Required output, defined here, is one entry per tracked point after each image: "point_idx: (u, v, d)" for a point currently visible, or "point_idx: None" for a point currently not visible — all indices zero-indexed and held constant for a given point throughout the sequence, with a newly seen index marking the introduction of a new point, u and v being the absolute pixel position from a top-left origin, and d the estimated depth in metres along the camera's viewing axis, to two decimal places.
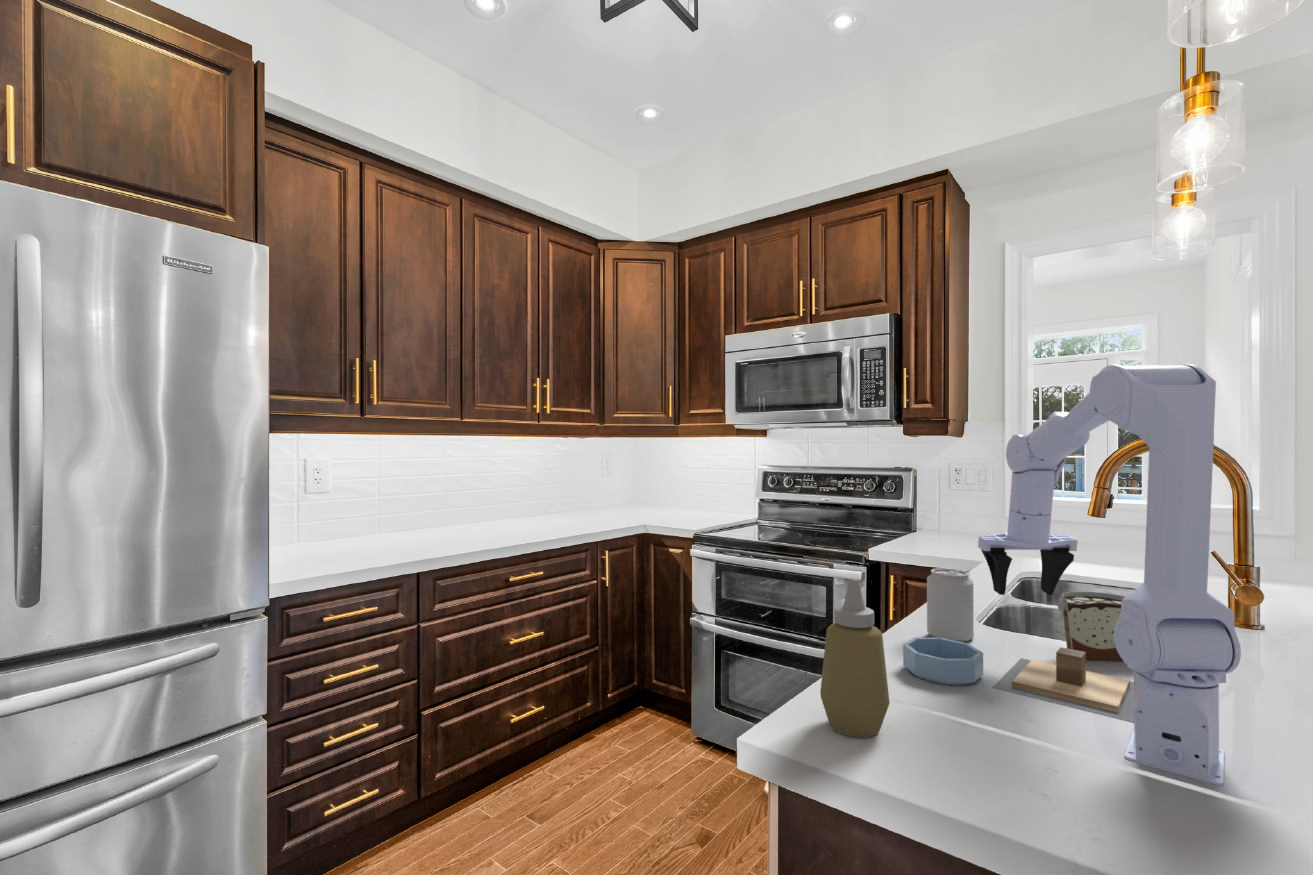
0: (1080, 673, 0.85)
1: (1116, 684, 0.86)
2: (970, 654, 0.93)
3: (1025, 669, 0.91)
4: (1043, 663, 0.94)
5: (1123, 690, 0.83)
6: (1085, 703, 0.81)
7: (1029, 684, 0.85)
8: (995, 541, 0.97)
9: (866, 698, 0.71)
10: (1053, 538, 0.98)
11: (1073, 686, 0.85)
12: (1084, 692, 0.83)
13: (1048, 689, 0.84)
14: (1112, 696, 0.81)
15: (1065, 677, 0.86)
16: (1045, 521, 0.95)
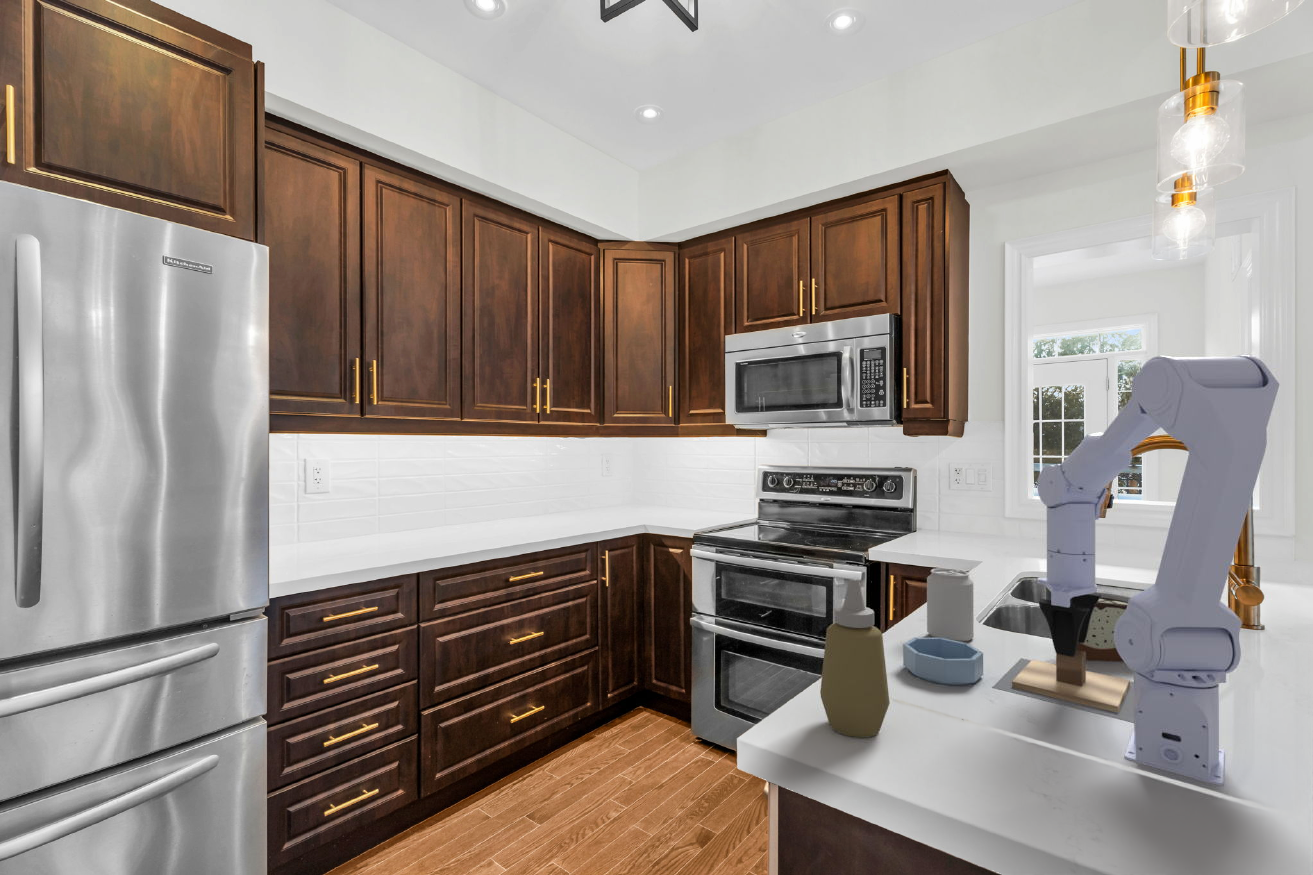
0: (1080, 673, 0.85)
1: (1116, 684, 0.86)
2: (970, 654, 0.93)
3: (1025, 669, 0.91)
4: (1043, 663, 0.94)
5: (1123, 690, 0.83)
6: (1085, 703, 0.81)
7: (1029, 684, 0.85)
8: (1073, 593, 0.82)
9: (866, 698, 0.71)
10: None
11: (1073, 686, 0.85)
12: (1084, 692, 0.83)
13: (1048, 689, 0.84)
14: (1112, 696, 0.81)
15: (1065, 677, 0.86)
16: None
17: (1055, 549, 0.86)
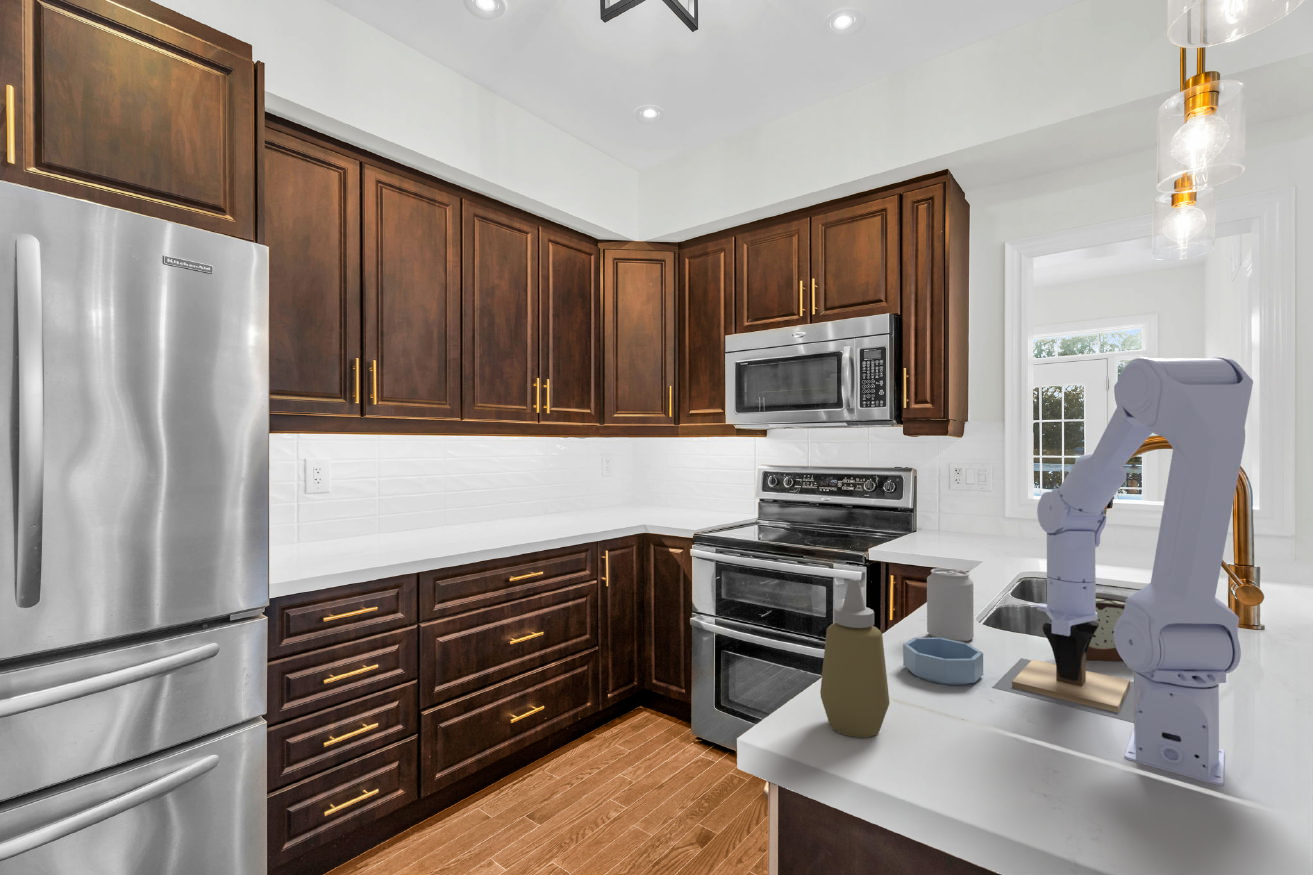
0: (1080, 673, 0.85)
1: (1116, 684, 0.86)
2: (970, 654, 0.93)
3: (1025, 669, 0.91)
4: (1043, 663, 0.94)
5: (1123, 690, 0.83)
6: (1085, 703, 0.81)
7: (1029, 684, 0.85)
8: (1073, 621, 0.82)
9: (866, 698, 0.71)
10: None
11: (1073, 686, 0.85)
12: (1084, 692, 0.83)
13: (1048, 689, 0.84)
14: (1112, 696, 0.81)
15: None
16: None
17: (1055, 576, 0.86)
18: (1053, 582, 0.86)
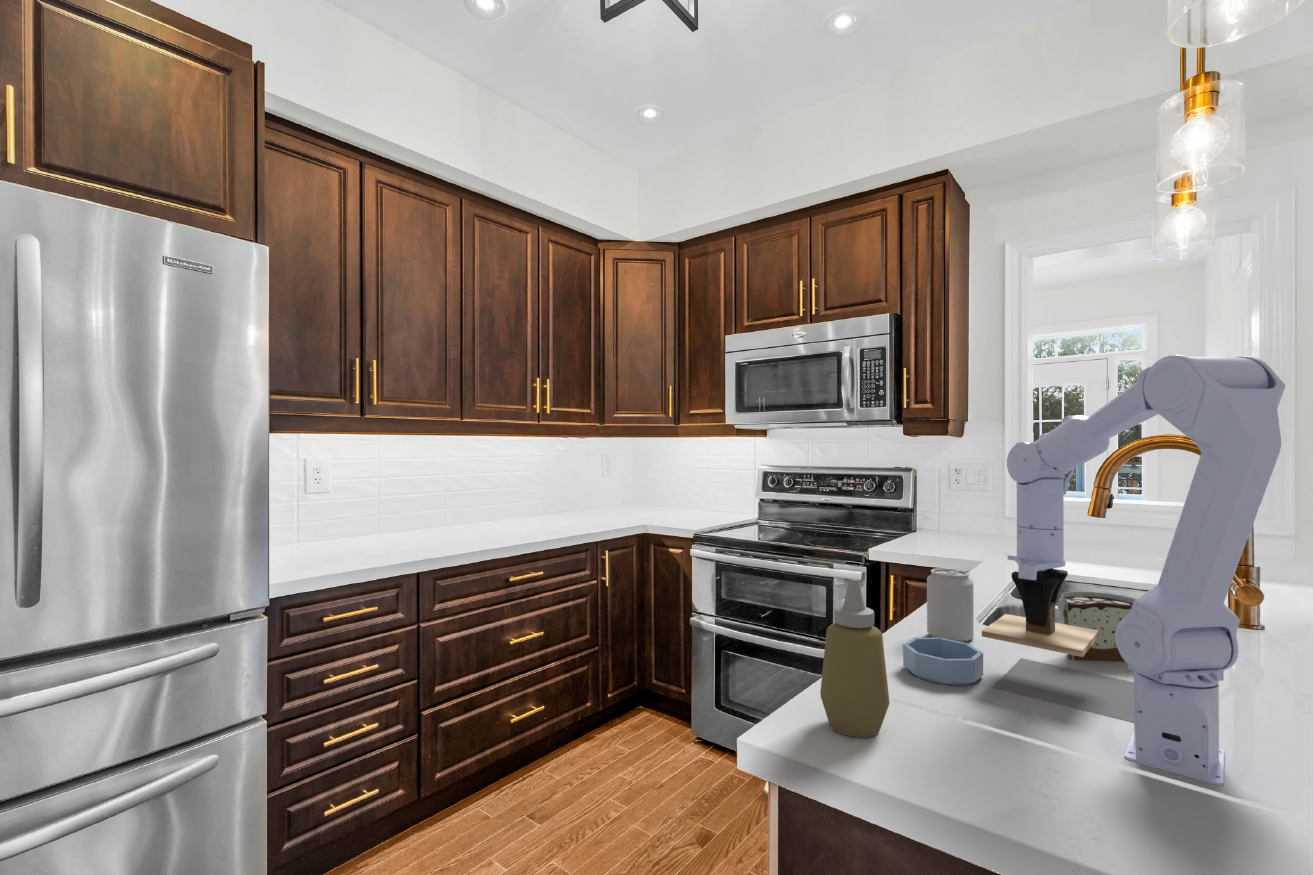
0: (1048, 622, 0.86)
1: (1085, 633, 0.87)
2: (970, 654, 0.93)
3: (997, 621, 0.92)
4: (1015, 617, 0.95)
5: (1090, 638, 0.85)
6: (1051, 649, 0.82)
7: (998, 633, 0.87)
8: (1039, 566, 0.83)
9: (866, 698, 0.71)
10: None
11: (1041, 634, 0.86)
12: (1051, 639, 0.84)
13: (1016, 637, 0.85)
14: (1078, 643, 0.83)
15: (1034, 626, 0.87)
16: None
17: (1027, 525, 0.87)
18: (1022, 530, 0.88)
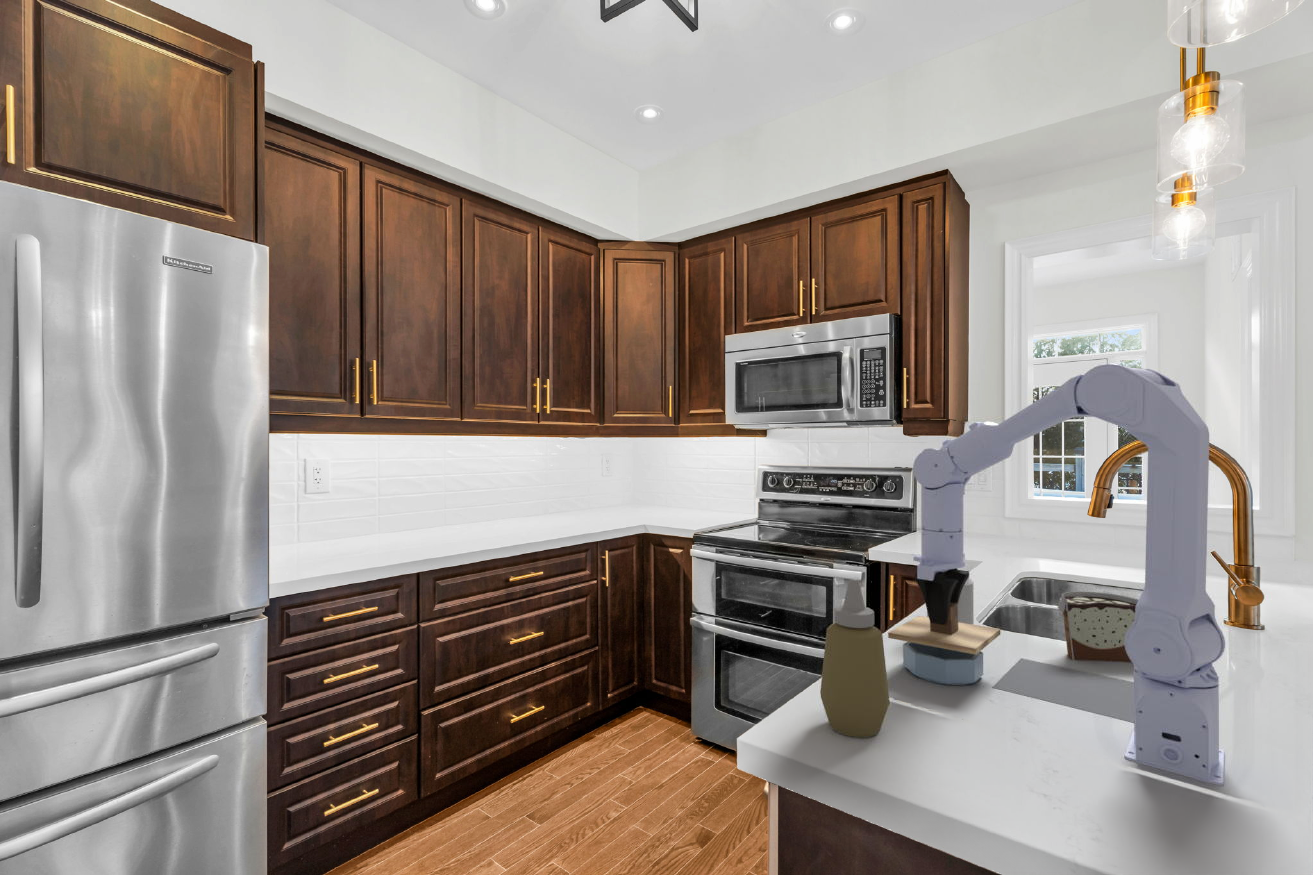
0: (950, 622, 0.90)
1: (985, 632, 0.91)
2: (970, 654, 0.93)
3: (906, 623, 0.96)
4: (926, 618, 0.99)
5: (988, 636, 0.88)
6: (949, 648, 0.86)
7: (903, 634, 0.90)
8: (937, 567, 0.87)
9: (866, 698, 0.71)
10: None
11: (943, 634, 0.90)
12: (951, 639, 0.88)
13: (918, 637, 0.89)
14: (975, 641, 0.86)
15: (937, 627, 0.91)
16: None
17: (937, 528, 0.90)
18: (925, 533, 0.92)
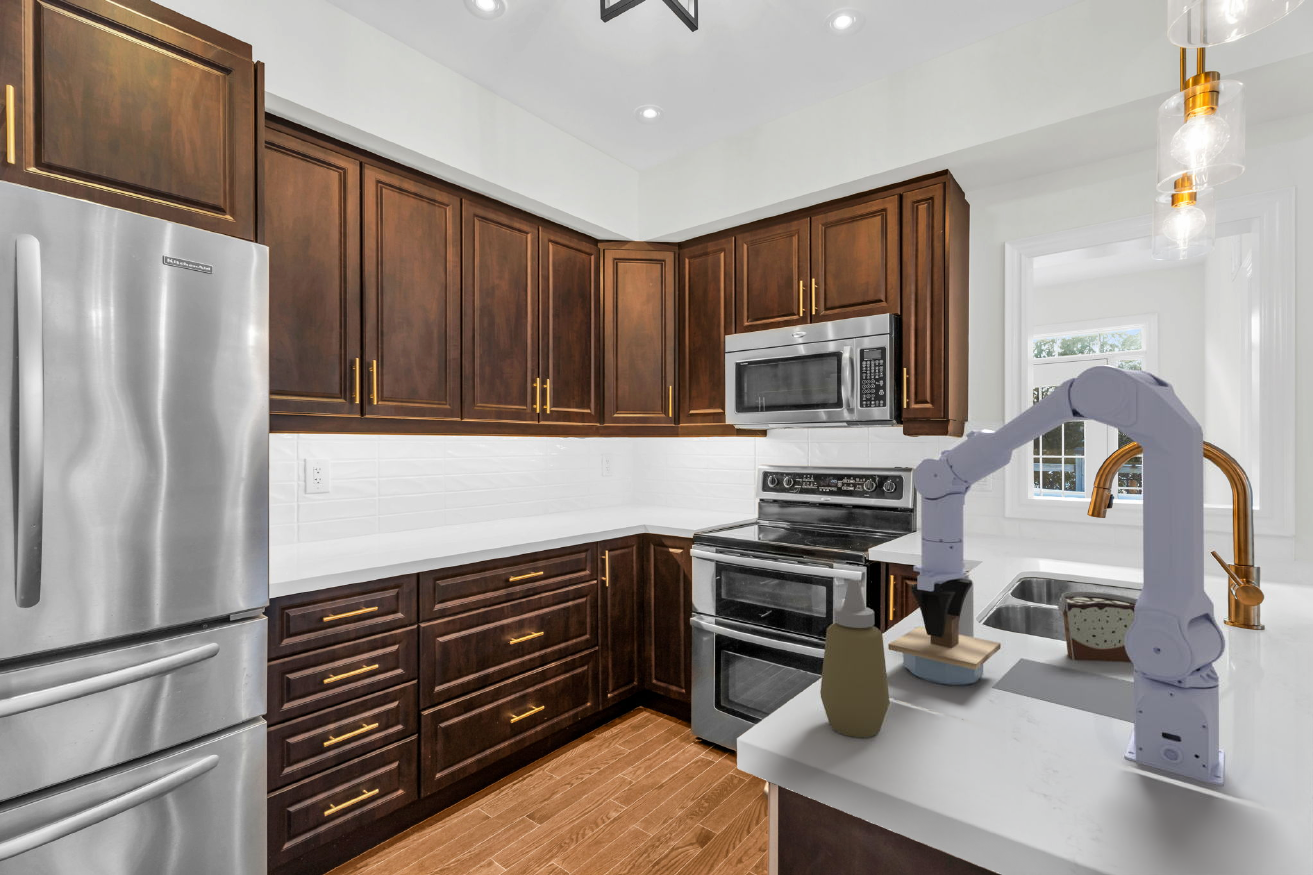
0: (950, 635, 0.90)
1: (986, 646, 0.90)
2: None
3: (906, 634, 0.96)
4: None
5: (988, 651, 0.88)
6: (949, 662, 0.86)
7: (903, 646, 0.90)
8: (937, 578, 0.87)
9: (866, 698, 0.71)
10: None
11: (944, 647, 0.90)
12: (951, 652, 0.88)
13: (919, 650, 0.89)
14: (975, 656, 0.86)
15: (938, 640, 0.91)
16: (963, 547, 0.91)
17: (937, 539, 0.90)
18: (925, 543, 0.92)
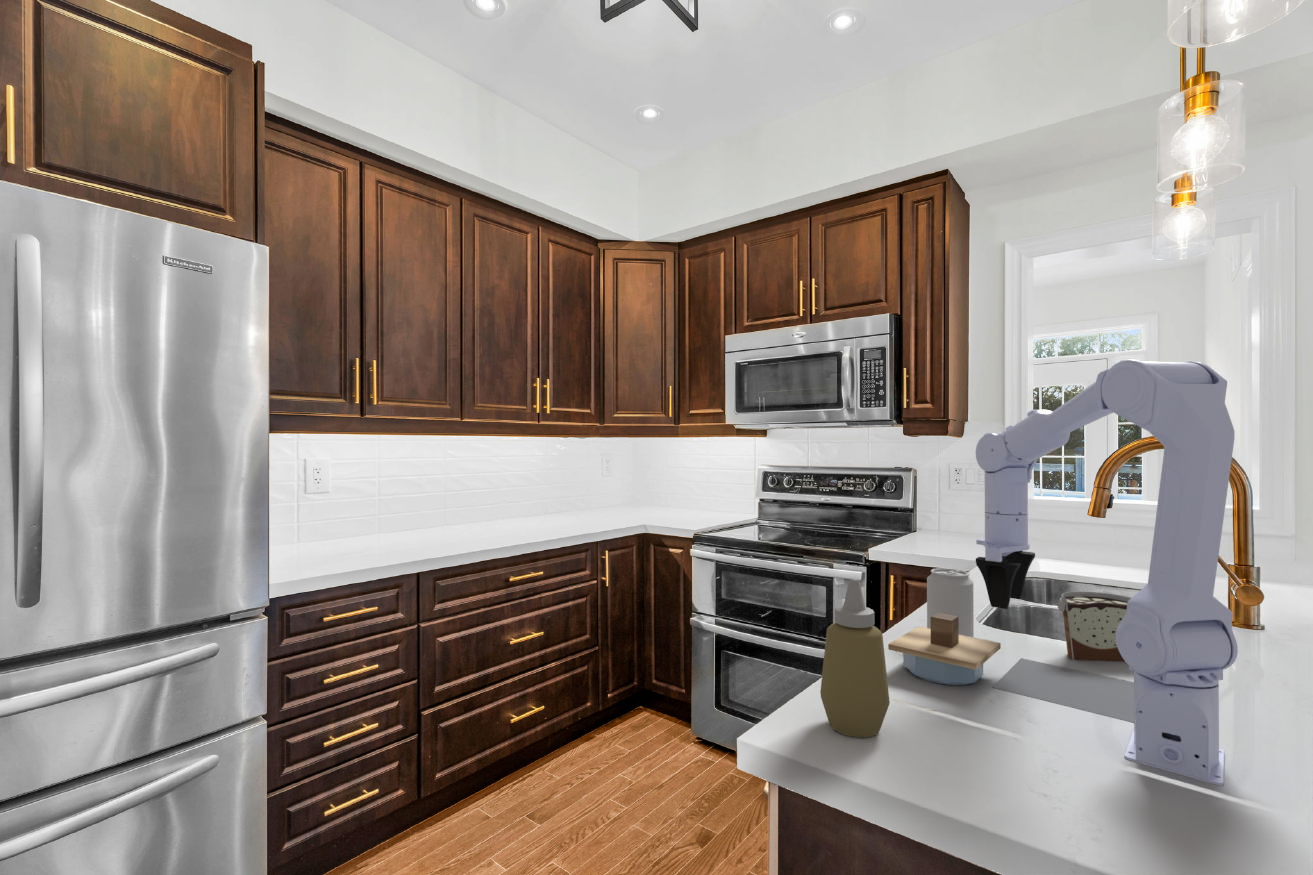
0: (950, 635, 0.90)
1: (986, 646, 0.90)
2: None
3: (906, 634, 0.96)
4: (927, 629, 0.99)
5: (988, 651, 0.88)
6: (949, 662, 0.86)
7: (903, 646, 0.90)
8: (1004, 549, 0.89)
9: (866, 699, 0.71)
10: None
11: (944, 647, 0.90)
12: (951, 652, 0.88)
13: (919, 650, 0.89)
14: (975, 656, 0.86)
15: (938, 640, 0.91)
16: (1027, 520, 0.93)
17: (995, 511, 0.92)
18: (989, 516, 0.93)
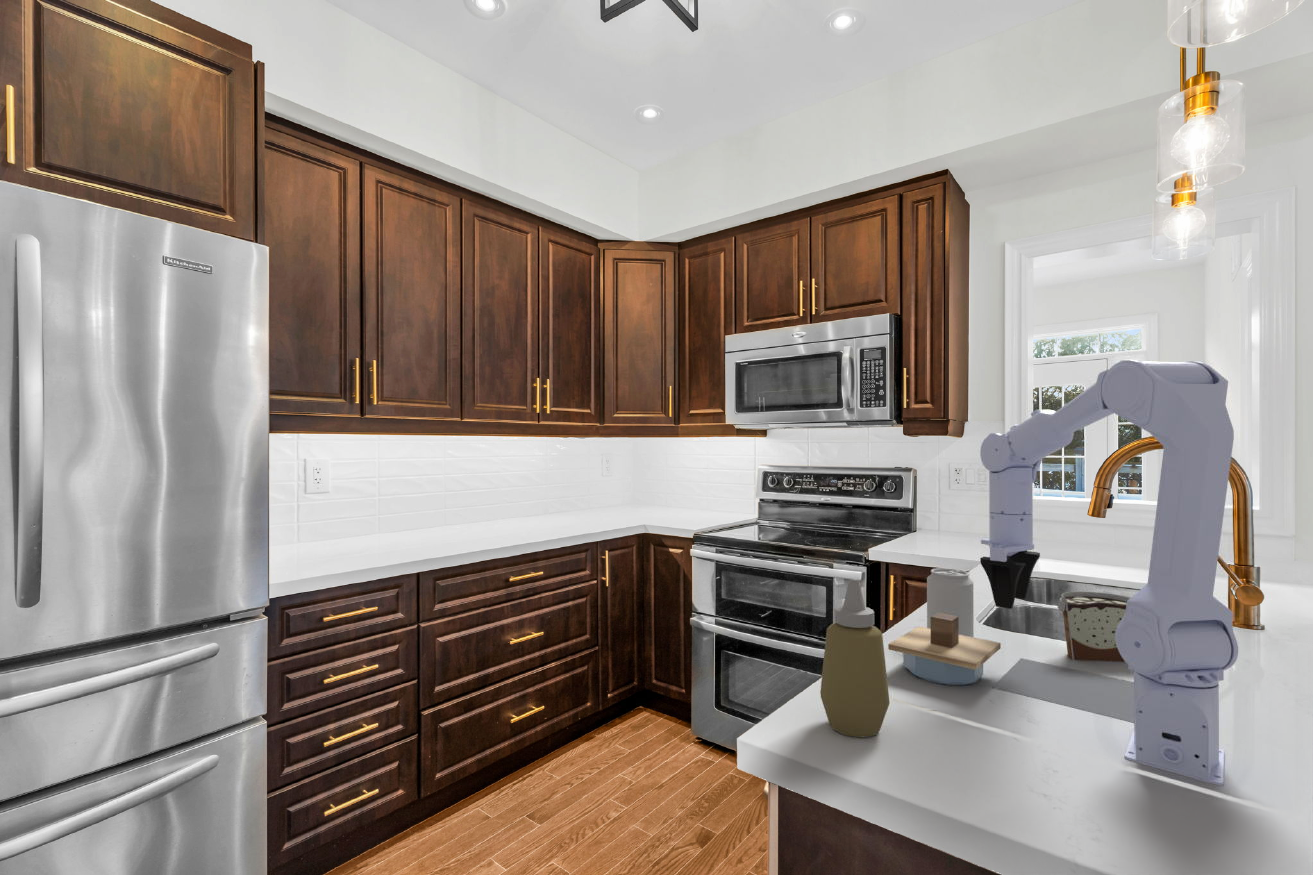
0: (950, 635, 0.90)
1: (986, 646, 0.90)
2: None
3: (906, 634, 0.96)
4: (927, 629, 0.99)
5: (988, 651, 0.88)
6: (949, 662, 0.86)
7: (903, 646, 0.90)
8: (1009, 549, 0.89)
9: (866, 698, 0.71)
10: None
11: (944, 647, 0.90)
12: (951, 652, 0.88)
13: (919, 650, 0.89)
14: (975, 656, 0.86)
15: (938, 640, 0.91)
16: None
17: (999, 511, 0.93)
18: (994, 516, 0.93)
